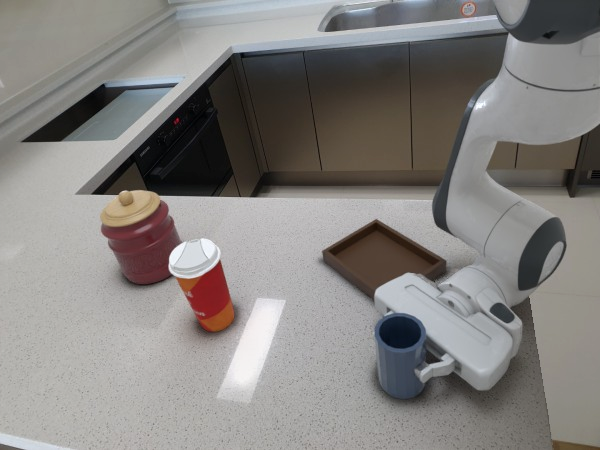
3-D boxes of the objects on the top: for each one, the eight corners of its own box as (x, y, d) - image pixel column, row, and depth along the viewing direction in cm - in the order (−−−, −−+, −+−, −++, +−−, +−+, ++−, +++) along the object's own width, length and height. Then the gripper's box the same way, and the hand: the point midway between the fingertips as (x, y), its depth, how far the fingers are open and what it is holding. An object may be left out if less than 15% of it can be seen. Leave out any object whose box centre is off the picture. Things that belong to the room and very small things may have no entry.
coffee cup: (196, 305, 83) (169, 241, 74) (241, 296, 83) (219, 231, 74) (192, 342, 76) (162, 276, 67) (241, 332, 76) (217, 265, 67)
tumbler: (435, 380, 63) (436, 332, 57) (402, 408, 61) (399, 361, 55) (402, 351, 68) (400, 305, 62) (369, 376, 65) (364, 330, 60)
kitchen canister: (180, 236, 101) (152, 166, 91) (193, 269, 91) (163, 195, 81) (121, 258, 98) (86, 188, 88) (128, 295, 88) (88, 221, 78)
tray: (446, 271, 80) (446, 260, 78) (388, 311, 74) (388, 301, 73) (377, 228, 92) (376, 218, 91) (323, 260, 87) (321, 250, 86)
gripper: (412, 254, 72) (344, 299, 66) (534, 330, 57) (459, 395, 52) (413, 283, 75) (348, 328, 70) (527, 361, 61) (456, 425, 55)
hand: (396, 357), depth 61 cm, fingers closed on tumbler, 6 cm apart
